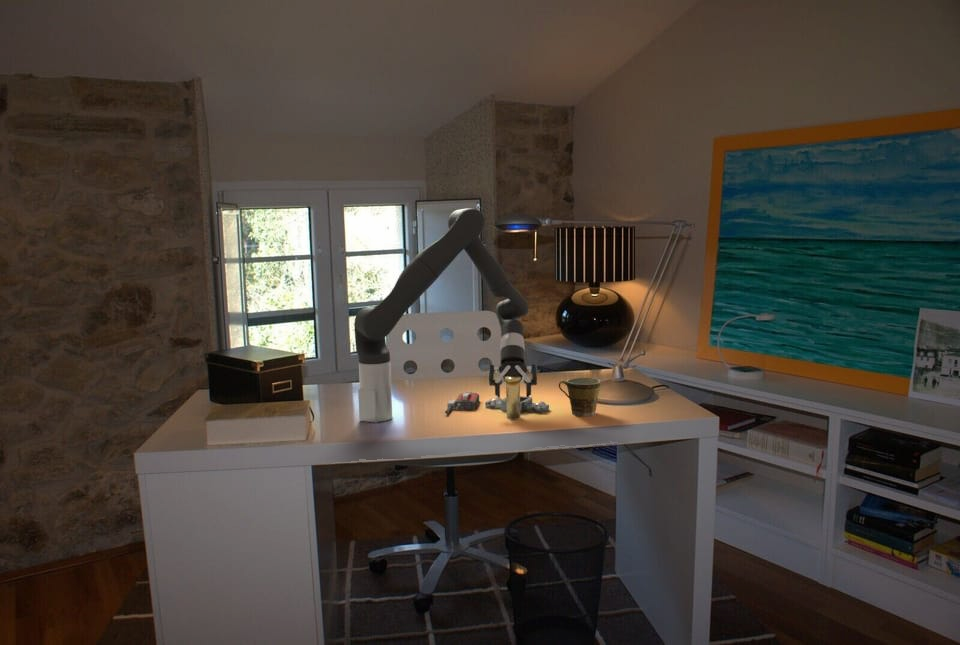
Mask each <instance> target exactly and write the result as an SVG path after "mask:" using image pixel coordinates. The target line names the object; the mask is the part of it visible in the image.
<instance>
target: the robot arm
mask: <svg viewBox="0 0 960 645" xmlns="http://www.w3.org/2000/svg"><path fill="white" fill-rule="evenodd" d="M485 219H486V218H485V215H484V214H483V212H481V211H480V210H479V209H477V208H467V207H466V208H461V209H456V210H454V211H453V212H452V213H451V214H449V218H448V220H447V221H448V222H447V226H448V230H447V232H445V233H444V234H443V235H442V236H441V237H440V238H439V239H438V240H436V241H434V243H433V242H432V243H431V244H430V245H428V246H427V247H426V248H424V249H423V250H422V251H420V252H419V253H418V254H417V255H416V256H415V257H414V258H413V259H412V260H410V262H409V263H408V264H407V265H406V266H405V267H404V269H403V270H402V271H401V273H400V275H399V276H398V278H397V281H396V282H395V284H394V286H393V288H392V289H391V291H390V292H389V294H388V295H386V297H385V298H384V299H382V301H381V302H380V303H378V305H376V306H367V307H363V308H361V309H360V310H359V311H358V312H357V313H356V315H355V317H354V339H355V341H354V342H355V350H356V353H357V354H356V355H357V358H358V374H359V375H358V376H359V388H358V390H357V392H358V394H357V395H358V415H359V417H358V418H359V421H360V422H366V423H367V422H368V423H376V424H378V423H380V422H385V421H389V420H391V419H392V418H393V402H392V401H393V399H392V397H393V396H392V379H391V378H392V376H391V375H392V373H391V370H392V369H391V353H390V351H389V348H388V346H387V343H386V337H387V336H389V334H390V333H391V332H392V331H393V329H394V328H395V327H396V325H398V323H399V321H400V320H401V318H402V317H403V316H404V314H405V313H406V312H407V311H408V310H409V309H410V307H412V305H414V303H416V302H417V300H418V299H420V297H421V296H422V295H423V294H424V293H425V292H426V291H427V290H428V289H429V288H430V287H431V286H432V285H433V284H434V283H435V282H436V281H437V279H439V277H440V276H441V275H442V274H443V272H445V270H446V269H447V268H448V267H449V266H450V265H451V263H452V262H454V260H455V259H456V257H457V256H458V255H459V254H460V253H461V252H462V251H463V250H464V251H465V253H466V254H467V255H468V257H469V258H470V259H471V261H472V263H473V265H474V266H475V268H476V270H477V272H478V273H479V274H480V276H481V278H482V280H483V282H484V284H485V285H486V288H487V289H488V291H489V293H490V294H491V296H492V297H494V298H500V297H503V298H507V299H504V300H501V301H499V302H498V303H497V304H496V306H495V315H496V317H497V320H498V324H499V327H500V349H499V351H500V354H499V356H500V357H499V358H500V360H499V366H495V365H494V364H490V366H489V375H488V382H489V386H491V387H492V386H494V395H495V397H496V396H497V397H498V398H501V385H502V384H504V383H505V377H507V376H520V377H521V381H520V382H521V383H523V384H525V385H526V387H525V391H526V394H525V395H526V396H525V397H530V396H531V395H532V386H537V384H538V377H537V375H538V374H537V368H536V364H534V363H532V364H531V365H526V349H525V348H526V346H525V339H524V325H523V323H522V322H521V321H519V320H518V319H521V318H523V317H525V316H526V315H527V314H529V304H528V301H527V300H526V298H525V297H524V296H523V295H522V294H521V292H519V291H518V290H517V289H516V288H515V286H514V285H513V284H512V283H511V281H510V280H509V278H508V276H507V274H506V272H505V270H504V269H503V267H502V266H501V264H500V263H499V261H498V260H497V259H496V258H495V257H494V256H493V254H492V253H491V252H490V251H489V250H488V249H487V247H486V246H485V245H484V243H483V242H482V240H481V237H480V235H481V234H482V233H483V231H484V229H485V225H486V220H485ZM527 371H528V372H529V374H531V378H532V379H531V378H529V377H528V375H527ZM497 372H499V373H500V374H499V375H498V377H497V378H496V379H495V375H496V374H497Z"/></svg>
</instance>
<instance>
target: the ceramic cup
mask: <svg viewBox="0 0 960 645" xmlns="http://www.w3.org/2000/svg"><path fill="white" fill-rule="evenodd" d="M561 384H564V385H565V386H566V387H567V392H566V391H565V390H564V389H562V386H561ZM558 388H559V390H560V391H561V392H562V393H563V394H565V396H566V397H567V398H568V399H569V404H570V407H571V414H572V415H574V416H576V417H585V418H586V417H592V416H594V415H596V411H597V406H598V400H599V394H600V389H601V380H600V379H598V378H593V377H573V378H569V379H567V380H566V381H565V380H562V381H560V382H559V383H558Z"/></svg>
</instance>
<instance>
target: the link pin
mask: <svg viewBox="0 0 960 645" xmlns="http://www.w3.org/2000/svg"><path fill="white" fill-rule="evenodd" d="M520 382H522V381H521V377H520V376H507V377H505V381H504V383H505V394H506V397H505V398H506V404H507V411H506V418H507V419H508V420H518V419H520V418H521V412H520V396H521V383H520Z"/></svg>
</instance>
